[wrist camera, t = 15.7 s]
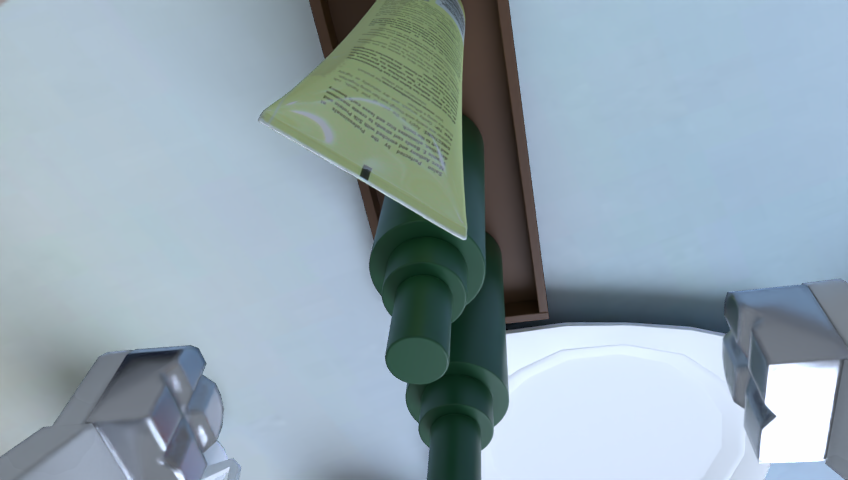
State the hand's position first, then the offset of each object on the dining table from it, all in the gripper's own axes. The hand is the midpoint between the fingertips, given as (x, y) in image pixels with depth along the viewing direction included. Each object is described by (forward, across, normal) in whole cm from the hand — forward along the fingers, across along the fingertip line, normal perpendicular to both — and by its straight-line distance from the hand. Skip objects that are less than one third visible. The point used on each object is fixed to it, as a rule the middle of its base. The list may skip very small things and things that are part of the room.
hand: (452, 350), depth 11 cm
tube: (+31, +3, +3) cm, 31 cm away
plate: (+30, -5, +37) cm, 48 cm away
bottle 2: (+30, +3, +19) cm, 36 cm away
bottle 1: (+30, +4, +11) cm, 32 cm away
